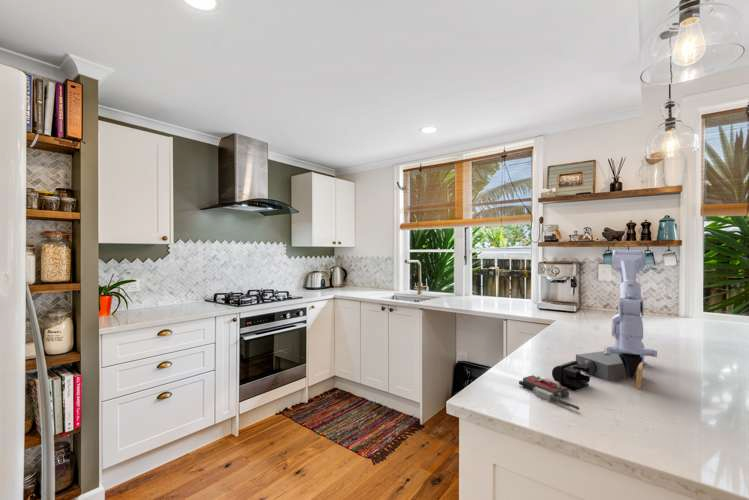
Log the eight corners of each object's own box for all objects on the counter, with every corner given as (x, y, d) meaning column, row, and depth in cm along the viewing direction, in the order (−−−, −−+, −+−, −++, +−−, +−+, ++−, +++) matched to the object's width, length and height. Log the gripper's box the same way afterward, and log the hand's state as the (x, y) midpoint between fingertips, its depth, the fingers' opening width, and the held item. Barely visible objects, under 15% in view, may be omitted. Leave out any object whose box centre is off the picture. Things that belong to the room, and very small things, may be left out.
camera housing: (605, 364, 131) (605, 349, 131) (638, 375, 120) (638, 359, 120) (572, 368, 126) (572, 353, 126) (604, 380, 114) (604, 363, 114)
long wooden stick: (639, 375, 119) (639, 362, 119) (642, 376, 118) (642, 362, 118) (636, 387, 108) (636, 373, 108) (640, 388, 107) (640, 374, 107)
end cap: (567, 378, 117) (568, 358, 116) (590, 385, 111) (590, 364, 111) (551, 384, 111) (551, 363, 111) (574, 392, 105) (574, 370, 105)
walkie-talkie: (513, 387, 109) (576, 415, 91) (513, 373, 109) (576, 398, 91) (532, 382, 113) (595, 407, 96) (532, 369, 113) (595, 391, 95)
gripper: (611, 336, 110) (611, 379, 110) (663, 339, 107) (663, 383, 107) (601, 331, 117) (601, 371, 117) (649, 334, 114) (649, 375, 114)
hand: (629, 376), depth 113 cm, fingers closed
